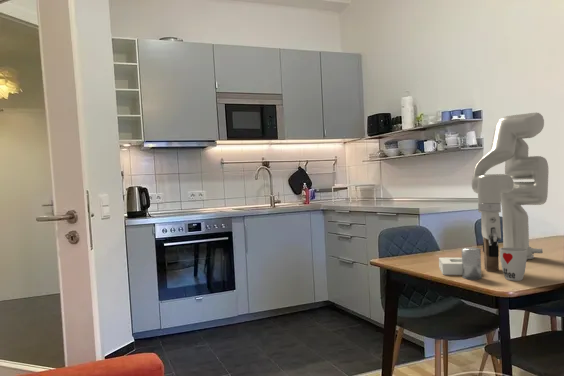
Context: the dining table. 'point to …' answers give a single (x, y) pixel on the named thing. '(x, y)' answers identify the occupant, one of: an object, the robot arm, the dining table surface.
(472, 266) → the grey cylinder
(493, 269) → the walnut peg
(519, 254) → the cup
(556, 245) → the dining table surface
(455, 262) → the bore block
